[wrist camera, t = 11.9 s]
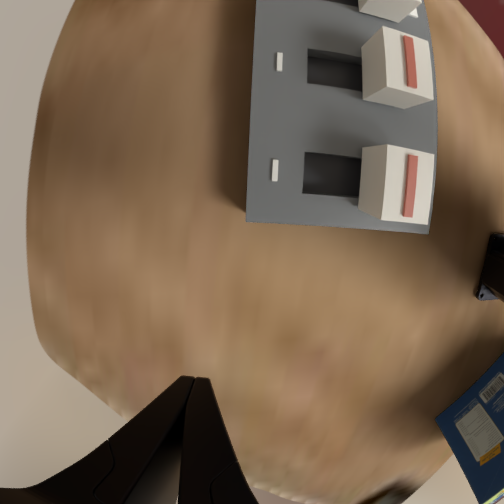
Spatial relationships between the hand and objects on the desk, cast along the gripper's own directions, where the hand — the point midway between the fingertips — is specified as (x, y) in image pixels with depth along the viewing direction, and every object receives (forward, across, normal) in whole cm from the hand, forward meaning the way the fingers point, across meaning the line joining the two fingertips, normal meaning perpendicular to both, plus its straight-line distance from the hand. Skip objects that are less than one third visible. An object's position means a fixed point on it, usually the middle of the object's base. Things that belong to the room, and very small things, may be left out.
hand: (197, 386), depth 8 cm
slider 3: (+11, -9, -6) cm, 15 cm away
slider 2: (+11, -9, -12) cm, 19 cm away
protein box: (+13, -34, +18) cm, 41 cm away
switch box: (+13, -7, -12) cm, 19 cm away
